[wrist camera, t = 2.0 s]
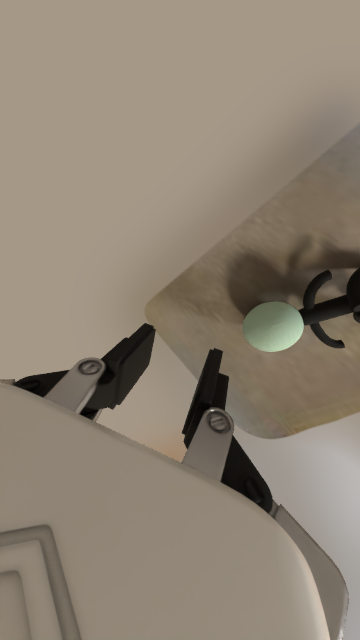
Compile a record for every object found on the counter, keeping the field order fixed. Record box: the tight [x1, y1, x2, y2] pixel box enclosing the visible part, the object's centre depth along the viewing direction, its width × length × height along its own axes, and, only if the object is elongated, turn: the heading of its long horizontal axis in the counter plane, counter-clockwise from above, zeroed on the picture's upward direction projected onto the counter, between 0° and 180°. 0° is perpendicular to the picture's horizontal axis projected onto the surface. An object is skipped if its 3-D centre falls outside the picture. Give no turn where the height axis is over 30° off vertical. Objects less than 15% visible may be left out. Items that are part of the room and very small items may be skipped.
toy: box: [243, 267, 360, 352], centre depth 23 cm, size 10×6×15 cm
